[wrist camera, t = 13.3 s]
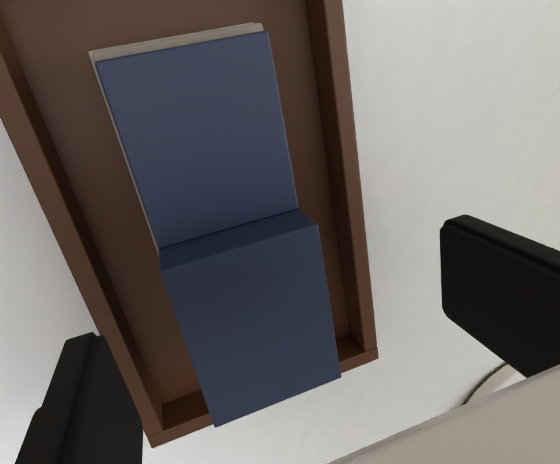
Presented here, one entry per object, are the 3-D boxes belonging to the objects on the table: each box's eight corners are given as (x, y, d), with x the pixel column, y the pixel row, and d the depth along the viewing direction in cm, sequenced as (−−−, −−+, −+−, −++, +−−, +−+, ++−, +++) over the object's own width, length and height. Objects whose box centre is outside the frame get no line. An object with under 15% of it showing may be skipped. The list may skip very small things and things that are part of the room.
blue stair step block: (193, 349, 20) (209, 437, 15) (91, 53, 14) (63, 38, 9) (301, 311, 21) (349, 380, 16) (247, 25, 16) (294, -1, 11)
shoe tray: (358, 334, 24) (379, 358, 22) (151, 412, 21) (151, 449, 19) (307, -74, 16) (333, -98, 14) (-42, -30, 13) (-78, -53, 11)
